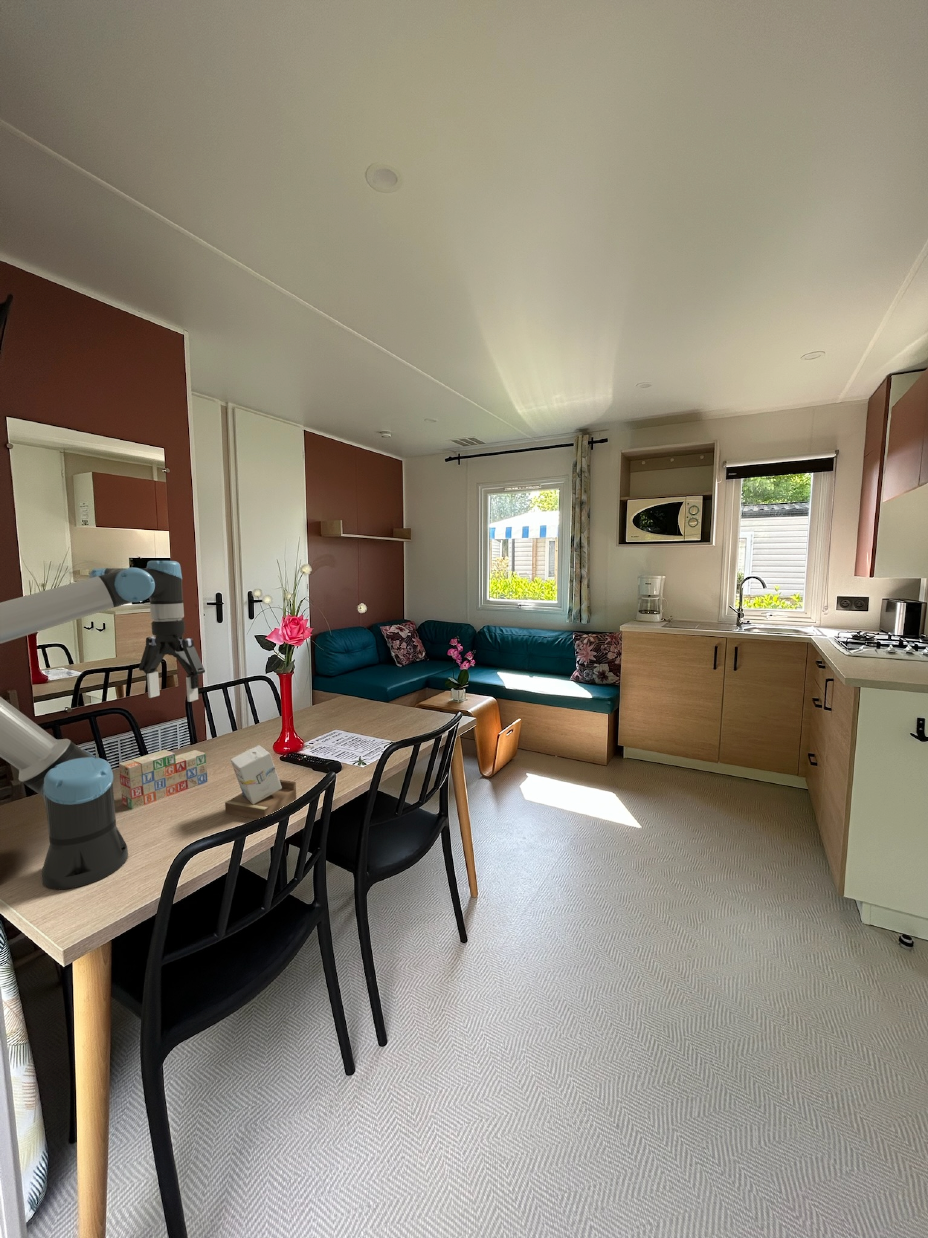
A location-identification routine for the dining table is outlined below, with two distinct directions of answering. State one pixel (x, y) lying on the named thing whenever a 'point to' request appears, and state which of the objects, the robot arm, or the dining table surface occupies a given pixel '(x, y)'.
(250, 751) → the ink box
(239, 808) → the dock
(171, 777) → the stack of blocks
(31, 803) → the dining table surface
